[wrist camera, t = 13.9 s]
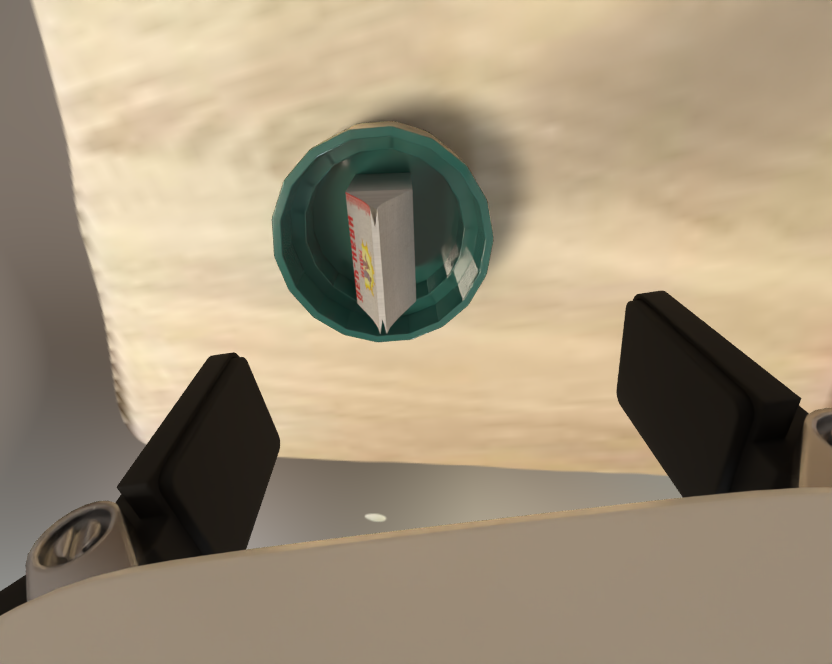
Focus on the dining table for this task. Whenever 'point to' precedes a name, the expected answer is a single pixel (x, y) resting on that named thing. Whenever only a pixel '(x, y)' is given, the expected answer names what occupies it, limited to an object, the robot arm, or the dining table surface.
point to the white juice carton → (382, 244)
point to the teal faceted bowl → (432, 215)
